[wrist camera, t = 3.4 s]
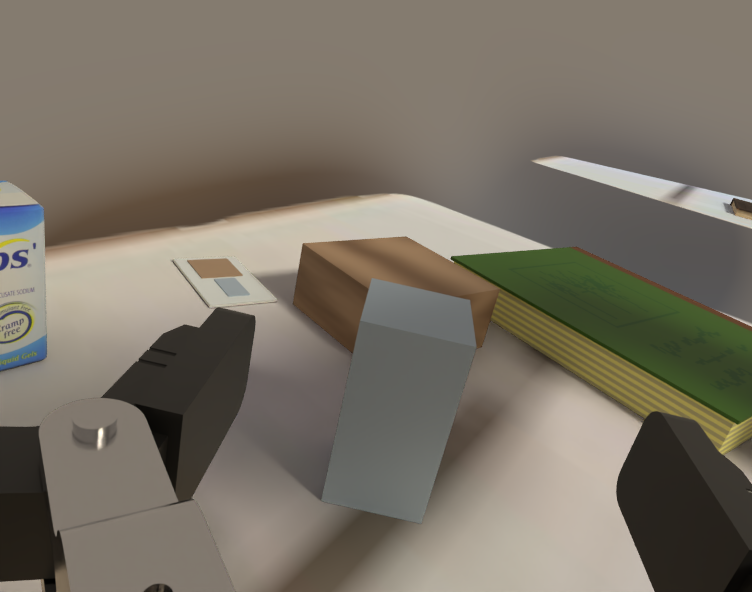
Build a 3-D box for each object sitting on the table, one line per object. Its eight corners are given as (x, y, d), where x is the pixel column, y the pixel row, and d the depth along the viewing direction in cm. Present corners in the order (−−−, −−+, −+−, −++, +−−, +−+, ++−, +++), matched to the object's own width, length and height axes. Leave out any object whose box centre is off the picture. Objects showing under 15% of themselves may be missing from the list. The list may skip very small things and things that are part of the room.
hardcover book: (812, 405, 46) (836, 365, 45) (711, 472, 35) (739, 421, 33) (559, 276, 63) (570, 244, 62) (434, 292, 52) (445, 253, 50)
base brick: (392, 291, 49) (406, 236, 47) (480, 350, 43) (500, 288, 41) (292, 306, 43) (302, 243, 41) (377, 378, 36) (394, 306, 34)
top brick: (423, 458, 30) (470, 300, 26) (421, 524, 26) (476, 346, 22) (336, 438, 30) (371, 278, 26) (321, 501, 26) (360, 320, 22)
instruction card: (234, 258, 48) (234, 254, 48) (276, 301, 42) (277, 298, 42) (172, 261, 45) (173, 257, 45) (209, 308, 40) (210, 304, 39)
